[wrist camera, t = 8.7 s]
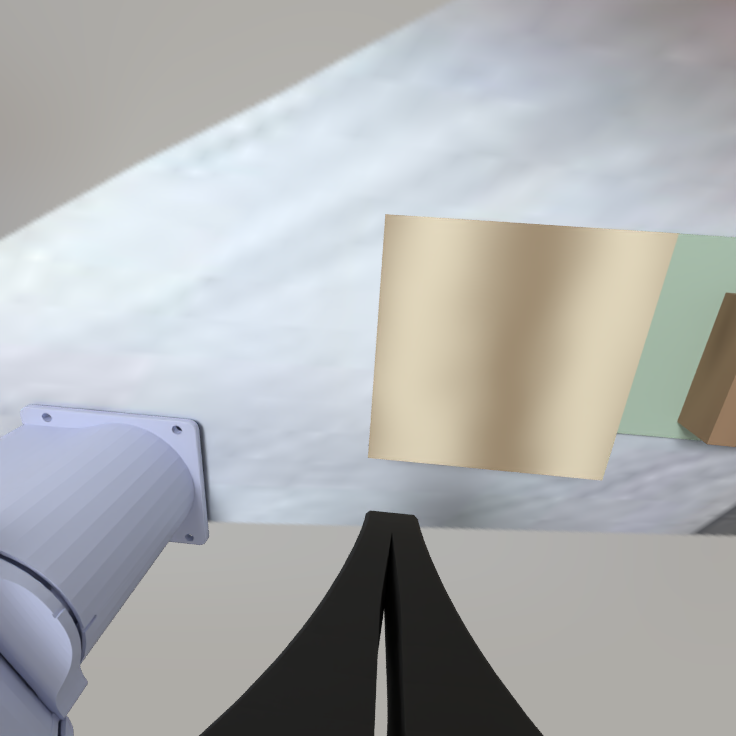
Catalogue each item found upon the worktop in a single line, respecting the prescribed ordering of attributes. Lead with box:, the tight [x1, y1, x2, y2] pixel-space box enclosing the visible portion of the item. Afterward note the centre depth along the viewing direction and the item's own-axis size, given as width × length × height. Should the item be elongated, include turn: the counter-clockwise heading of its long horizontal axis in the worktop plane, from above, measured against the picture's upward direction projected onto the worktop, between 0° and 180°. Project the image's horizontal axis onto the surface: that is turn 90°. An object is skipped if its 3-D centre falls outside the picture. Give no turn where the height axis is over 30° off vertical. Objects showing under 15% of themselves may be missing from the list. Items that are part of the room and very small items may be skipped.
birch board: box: [368, 214, 679, 480], centre depth 17 cm, size 10×10×3 cm
